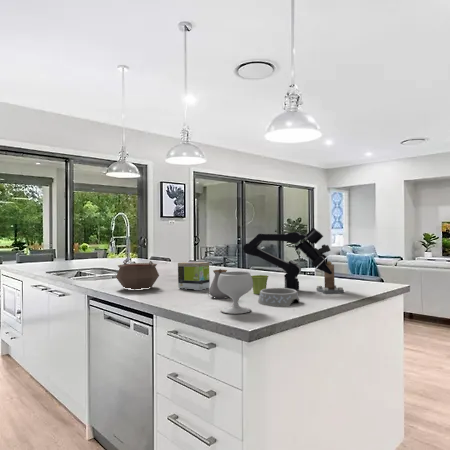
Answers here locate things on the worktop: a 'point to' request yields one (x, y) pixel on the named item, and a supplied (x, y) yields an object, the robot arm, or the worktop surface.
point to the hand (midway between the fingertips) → (332, 272)
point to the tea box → (193, 275)
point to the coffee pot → (214, 288)
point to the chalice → (235, 289)
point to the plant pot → (259, 283)
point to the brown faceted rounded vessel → (137, 275)
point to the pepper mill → (329, 277)
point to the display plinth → (330, 290)
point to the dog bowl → (278, 296)
